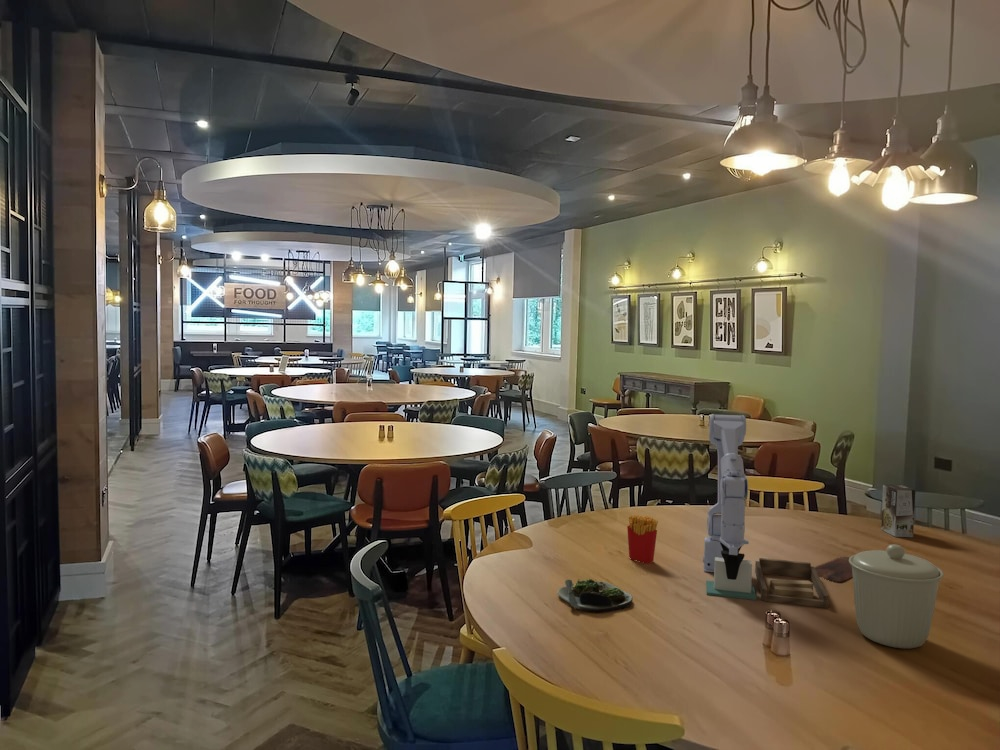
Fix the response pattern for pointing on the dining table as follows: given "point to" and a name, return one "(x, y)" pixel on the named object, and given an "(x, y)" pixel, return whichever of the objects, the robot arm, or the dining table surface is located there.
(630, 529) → the french fries
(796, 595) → the offcut block small
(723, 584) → the grey sheet
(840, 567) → the wooden tablet
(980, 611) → the dining table surface
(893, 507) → the coffee box
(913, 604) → the canister
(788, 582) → the offcut block large
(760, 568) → the rack
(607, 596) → the salad plate
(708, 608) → the dining table surface
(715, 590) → the mat
